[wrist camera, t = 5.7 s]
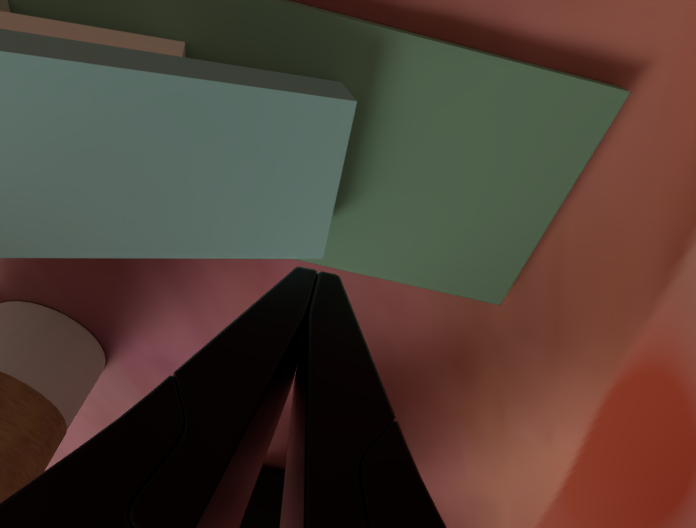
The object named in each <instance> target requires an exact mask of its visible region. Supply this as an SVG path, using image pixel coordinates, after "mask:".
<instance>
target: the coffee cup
mask: <svg viewBox="0 0 696 528" xmlns="http://www.w3.org/2000/svg"><path fill="white" fill-rule="evenodd" d="M105 362H106V359H105V354H104V351H103V349H102V347H101V345H100V344H99V343H98V341H97V340H96V339H95V337H94V336H93V335H92V334H91V333H90V332H89V331H88V330H86V329H85V328H84V327H83V326H81V325H80V324H79V323H77V322H76V321H74V320H73V319H71V318H69V317H68V316H66V315H64V314H62V313H60V312H58V311H56V310H53V309H50V308H48V307H45V306H42V305H38V304H34V303H30V302H22V301H8V302H4V303H0V503H1V502H2V501H3V500H5V499H6V498H8V497H9V496H11V495H12V494H13V493H15V492H16V491H18V490H19V489H20V488H22V487H23V486H25V485H26V484H28V483H29V482H30V481H32V480H33V479H35V478H36V477H38V476H39V475H40V474H42V473H43V472H44V471H45V469H46V467H47V466H48V464H49V462H50V460H51V459H52V457H53V455H54V453H55V452H56V450H57V448H58V446H59V445H60V443H61V441H62V440H63V438H64V436H65V434H66V431H67V429H68V427H69V426H70V424H71V422H72V421H73V419H74V418H75V416H76V414H77V413H78V411H79V409H80V408H81V406H82V404H83V403H84V401H85V400H86V398H87V396H88V395H89V393H90V391H91V390H92V388H93V386H94V385H95V383H96V381H97V380H98V378H99V376H100V375H101V373H102V371H103V370H104V368H105Z"/></svg>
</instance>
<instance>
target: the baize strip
mask: <svg viewBox="0 0 696 528" xmlns="http://www.w3.org/2000/svg"><path fill="white" fill-rule="evenodd" d="M8 4H9V8H10V12H11V13H16V14H22V15H28V16H34V17H39V18H45V19H51V20H57V21H63V22H69V23H75V24H81V25H87V26H93V27H99V28H105V29H111V30H117V31H123V32H129V33H134V34H140V35H146V36H152V37H158V38H164V39H170V40H176V41H182V42H185V54H186V58H192V59H198V60H204V61H211V62H217V63H223V64H230V65H236V66H243V67H249V68H255V69H262V70H268V71H275V72H281V73H287V74H294V75H300V76H307V77H313V78H319V79H326V80H332V81H339V82H342V83H343V85H344V86H345V87H346V88H347V89H348V91H349V92H350V93H351V94H352V96H353V97H354V98H355V99H356V101H357V104H356V109H355V114H354V118H353V123H352V127H351V132H350V137H349V141H348V146H347V150H346V155H345V159H344V164H343V169H342V173H341V178H340V182H339V187H338V192H337V196H336V201H335V205H334V210H333V215H332V219H331V224H330V228H329V233H328V238H327V242H326V247H325V251H324V256H323V259H296V260H300V261H305V262H309V263H314V264H318V265H322V266H327V267H331V268H336V269H340V270H345V271H349V272H354V273H358V274H363V275H367V276H371V277H376V278H380V279H385V280H389V281H394V282H398V283H403V284H407V285H412V286H416V287H420V288H425V289H429V290H434V291H438V292H443V293H447V294H452V295H456V296H461V297H465V298H469V299H474V300H478V301H483V302H487V303H492V304H496V305H500V304H501V302H502V301H503V299H504V298H505V296H506V294H507V293H508V291H509V289H510V288H511V286H512V284H513V283H514V281H515V280H516V278H517V276H518V275H519V273H520V271H521V270H522V268H523V267H524V265H525V263H526V262H527V260H528V258H529V257H530V255H531V254H532V252H533V250H534V249H535V247H536V245H537V244H538V242H539V241H540V239H541V237H542V236H543V234H544V232H545V231H546V229H547V228H548V226H549V224H550V223H551V221H552V219H553V218H554V216H555V214H556V213H557V211H558V210H559V208H560V206H561V205H562V203H563V201H564V200H565V198H566V197H567V195H568V193H569V192H570V190H571V188H572V187H573V185H574V184H575V182H576V180H577V179H578V177H579V175H580V174H581V172H582V171H583V169H584V167H585V166H586V164H587V162H588V161H589V159H590V158H591V156H592V154H593V153H594V151H595V149H596V148H597V146H598V144H599V143H600V141H601V140H602V138H603V136H604V135H605V133H606V131H607V130H608V128H609V127H610V125H611V123H612V122H613V120H614V118H615V117H616V115H617V114H618V112H619V110H620V109H621V107H622V105H623V104H624V102H625V101H626V99H627V97H628V96H629V94H630V91H628V90H626V89H624V88H622V87H620V86H616V85H612V84H609V83H605V82H601V81H597V80H593V79H589V78H585V77H582V76H578V75H574V74H570V73H566V72H562V71H559V70H555V69H551V68H547V67H543V66H539V65H536V64H532V63H528V62H524V61H520V60H516V59H512V58H509V57H505V56H501V55H497V54H493V53H489V52H486V51H482V50H478V49H474V48H470V47H466V46H463V45H459V44H455V43H451V42H447V41H443V40H439V39H436V38H432V37H428V36H424V35H420V34H416V33H413V32H409V31H405V30H401V29H397V28H393V27H390V26H386V25H382V24H378V23H374V22H370V21H366V20H363V19H359V18H355V17H351V16H347V15H343V14H340V13H336V12H332V11H328V10H324V9H320V8H317V7H313V6H309V5H305V4H301V3H297V2H293V1H290V0H8Z"/></svg>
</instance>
